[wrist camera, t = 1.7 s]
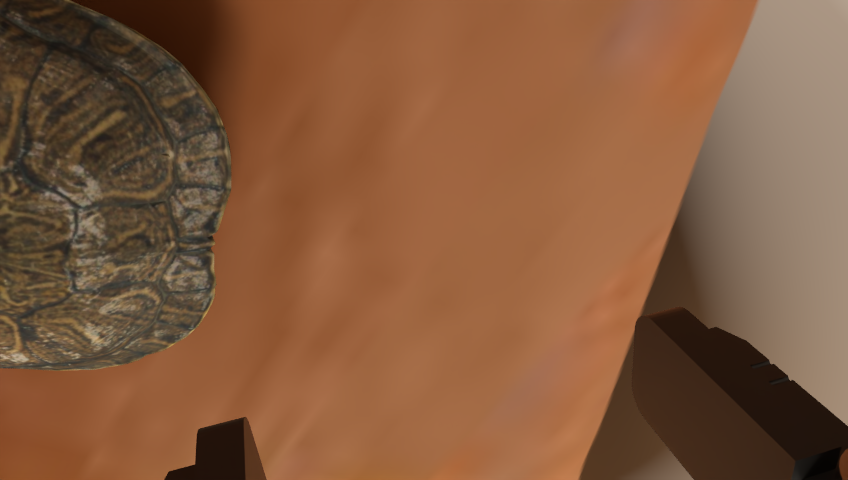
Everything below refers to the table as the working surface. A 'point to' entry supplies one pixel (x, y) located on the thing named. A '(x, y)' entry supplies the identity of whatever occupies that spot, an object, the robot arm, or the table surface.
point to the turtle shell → (101, 191)
